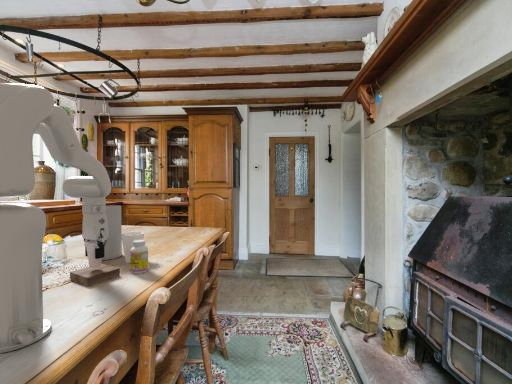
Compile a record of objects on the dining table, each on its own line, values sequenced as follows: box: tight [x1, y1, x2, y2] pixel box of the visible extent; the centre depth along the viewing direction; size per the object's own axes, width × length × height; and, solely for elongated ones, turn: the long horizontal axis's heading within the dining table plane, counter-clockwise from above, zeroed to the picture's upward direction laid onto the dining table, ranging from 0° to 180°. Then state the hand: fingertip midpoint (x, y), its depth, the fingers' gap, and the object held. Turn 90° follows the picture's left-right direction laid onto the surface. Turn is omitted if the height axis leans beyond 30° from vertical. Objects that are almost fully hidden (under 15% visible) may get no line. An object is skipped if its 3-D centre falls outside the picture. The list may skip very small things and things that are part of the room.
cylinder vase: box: [98, 205, 123, 261], centre depth 128 cm, size 12×12×25 cm
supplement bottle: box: [130, 239, 149, 275], centre depth 107 cm, size 7×7×13 cm
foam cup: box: [121, 231, 145, 264], centre depth 121 cm, size 10×9×13 cm
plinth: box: [69, 263, 121, 287], centre depth 100 cm, size 12×12×3 cm
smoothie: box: [84, 240, 103, 268], centre depth 99 cm, size 6×6×14 cm
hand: (94, 256), depth 99 cm, fingers closed on smoothie, 5 cm apart
